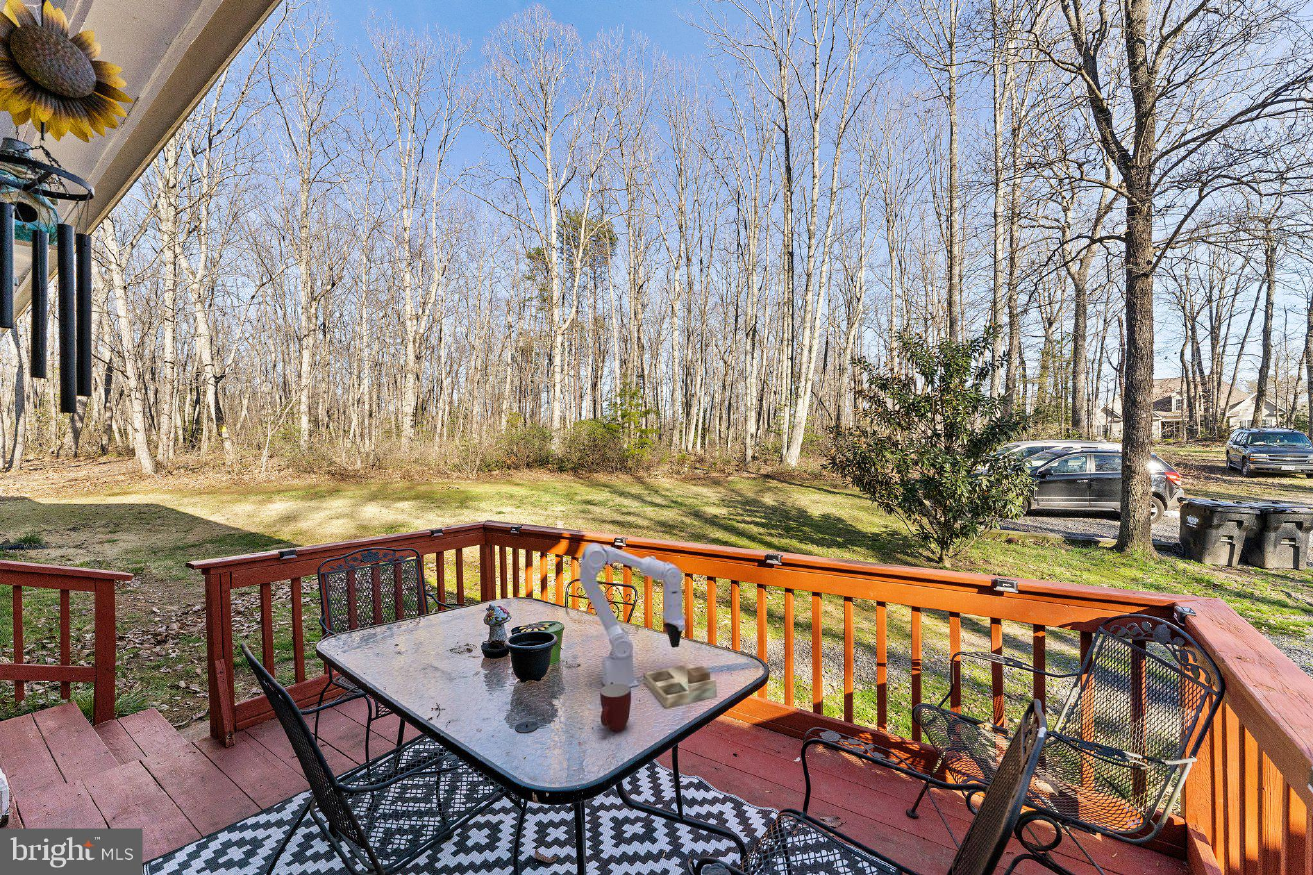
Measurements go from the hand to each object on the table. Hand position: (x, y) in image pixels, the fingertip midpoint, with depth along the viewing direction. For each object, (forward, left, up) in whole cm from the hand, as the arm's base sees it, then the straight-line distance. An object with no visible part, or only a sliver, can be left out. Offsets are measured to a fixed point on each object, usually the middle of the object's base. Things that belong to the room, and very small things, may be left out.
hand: (674, 646), depth 179 cm
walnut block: (+1, -15, -6) cm, 16 cm away
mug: (-27, -23, -10) cm, 37 cm away
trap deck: (-3, -9, -9) cm, 13 cm away
